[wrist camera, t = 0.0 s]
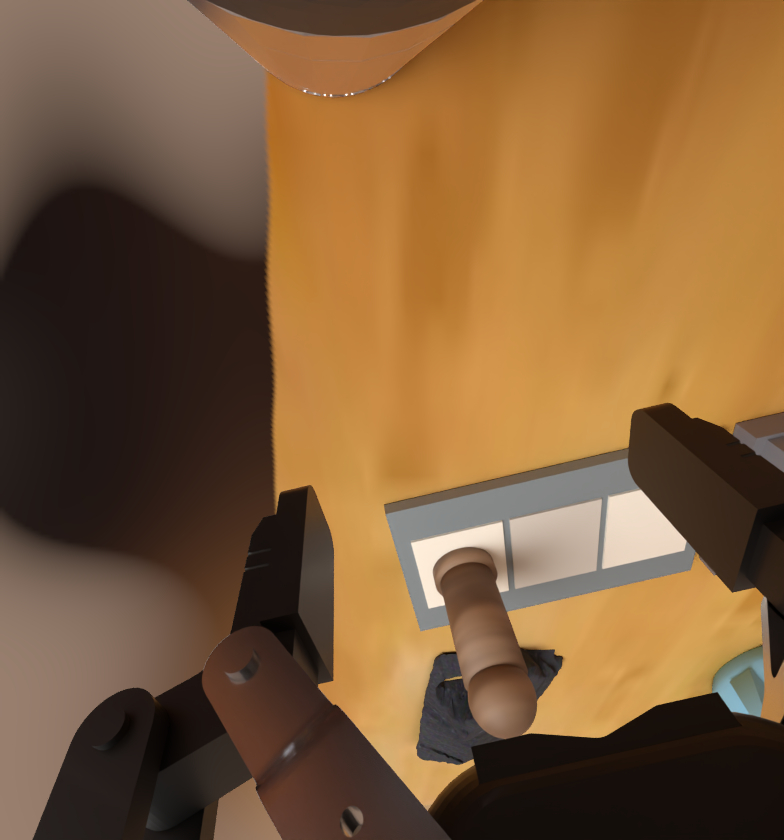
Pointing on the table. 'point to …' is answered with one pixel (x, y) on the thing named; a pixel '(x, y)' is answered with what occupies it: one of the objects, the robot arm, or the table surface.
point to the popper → (762, 441)
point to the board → (540, 534)
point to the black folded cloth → (466, 707)
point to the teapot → (742, 682)
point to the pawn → (485, 643)
